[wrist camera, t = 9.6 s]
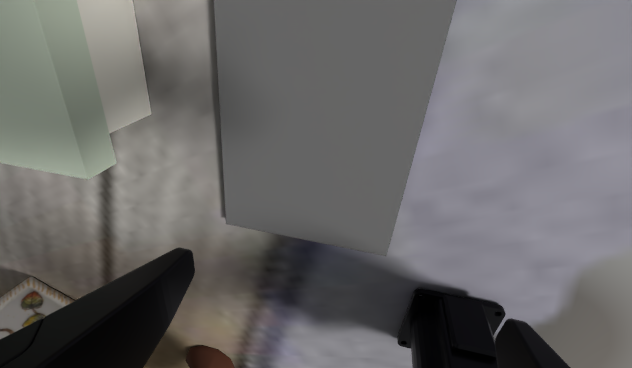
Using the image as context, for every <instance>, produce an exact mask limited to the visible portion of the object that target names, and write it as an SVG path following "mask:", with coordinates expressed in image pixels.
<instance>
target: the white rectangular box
mask: <svg viewBox="0 0 632 368" xmlns="http://www.w3.org/2000/svg"><path fill="white" fill-rule="evenodd" d="M77 4H78V8H79V12H80V16H81V20H82V24H83V29H84V33H85V37H86V41H87V45H88V49H89V53H90V57H91V61H92V65H93V69H94V73H95V77H96V81H97V85H98V89H99V94H100V98H101V102H102V106H103V110H104V114H105V118H106V122H107V126H108V130H109V133H112V132H114V131H116V130H118V129H120V128H123V127H125V126H127V125H129V124H131V123H134V122H136V121H138V120H140V119H142V118H145V117H147V116H149V115H151V114H152V113H151V107H150V101H149V95H148V89H147V83H146V77H145V71H144V65H143V59H142V53H141V47H140V41H139V35H138V29H137V23H136V17H135V11H134V5H133V0H77Z"/></svg>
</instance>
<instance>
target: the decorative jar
mask: <svg viewBox="0 0 632 368" xmlns="http://www.w3.org/2000/svg"><path fill="white" fill-rule="evenodd" d="M74 301H75V300H73V299H71V298H69V297H67V296H65V295H64V294H62V293H60V292H58V291H56V290H54V289H52V288H51V287H49V286H47V285H46V284H44V283H42V282H40V281H38V280H37V279H35V278H34V277H29V278H27V279H26V280H24V281H23V282H22V283H20V284H19V285H17V286H16V287H15V288H13V289H12V290H10V291H9V292H8V293H6V294H5V295H3V296H2V297H1V298H0V339H2V338H4V337H6V336H8V335H10V334H12V333H14V332H16V331H18V330H20V329H22V328H24V327H26V326H27V325H29V324H31V323H33V322H35V321H37V320H39V319H41V318H43V319H44V317H45V316H47V315H49V314H51V313H53V312H55V311H56V310H58V309H60V308H62V307H64V306H66V305H68V304H70V303H72V302H74Z"/></svg>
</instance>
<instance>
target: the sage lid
mask: <svg viewBox="0 0 632 368" xmlns="http://www.w3.org/2000/svg"><path fill="white" fill-rule="evenodd" d="M0 163H3V164H9V165H14V166H19V167H25V168H30V169H35V170H40V171H46V172H51V173H56V174H61V175H67V176H72V177H77V178H82V179H88V180H89V179H90V178H92V177H94V176H96V175H97V174H99V173H101V172H102V171H104V170H106V169H108V168H109V167H111V166H113V165H115V164H116V159H115V154H114V150H113V146H112V142H111V138H110V134H109V130H108V126H107V122H106V118H105V114H104V110H103V106H102V102H101V98H100V94H99V89H98V85H97V81H96V77H95V73H94V69H93V65H92V61H91V57H90V53H89V49H88V45H87V41H86V37H85V33H84V29H83V24H82V20H81V16H80V12H79V8H78V4H77V0H0Z"/></svg>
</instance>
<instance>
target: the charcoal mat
mask: <svg viewBox="0 0 632 368" xmlns="http://www.w3.org/2000/svg"><path fill="white" fill-rule="evenodd" d="M456 1H457V0H214V15H215V33H216V51H217V69H218V87H219V105H220V123H221V141H222V158H223V176H224V194H225V212H226V224H229V225H234V226H239V227H244V228H249V229H254V230H259V231H264V232H269V233H274V234H278V235H283V236H288V237H293V238H298V239H303V240H308V241H313V242H318V243H323V244H328V245H333V246H338V247H343V248H348V249H353V250H358V251H363V252H368V253H373V254H378V255H383V256H386V255H387V252H388V248H389V245H390V241H391V237H392V234H393V230H394V226H395V223H396V219H397V215H398V212H399V208H400V205H401V201H402V197H403V194H404V190H405V186H406V183H407V179H408V175H409V172H410V168H411V165H412V161H413V157H414V154H415V150H416V146H417V143H418V139H419V136H420V132H421V128H422V125H423V121H424V117H425V114H426V110H427V106H428V103H429V99H430V96H431V92H432V88H433V85H434V81H435V77H436V74H437V70H438V66H439V63H440V59H441V56H442V52H443V48H444V45H445V41H446V37H447V34H448V30H449V26H450V23H451V19H452V16H453V12H454V8H455V5H456Z"/></svg>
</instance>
